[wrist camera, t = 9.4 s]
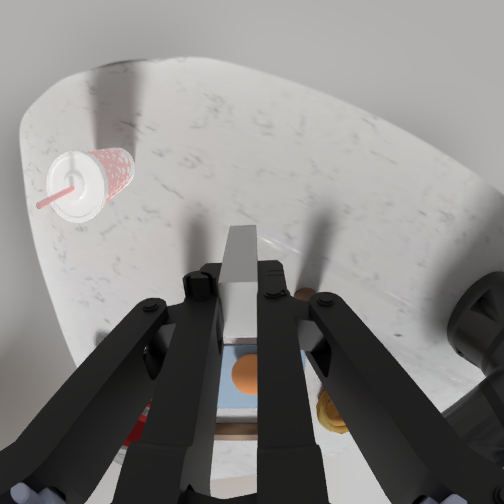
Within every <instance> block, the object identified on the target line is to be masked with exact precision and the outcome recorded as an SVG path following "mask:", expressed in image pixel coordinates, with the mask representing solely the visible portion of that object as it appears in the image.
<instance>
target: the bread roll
mask: <svg viewBox="0 0 504 504" xmlns="http://www.w3.org/2000/svg"><path fill="white" fill-rule="evenodd" d="M316 409H317V417H318V421H319V423H320V424H321V425H322V426H323V427H324V428H326V429H327V430H329V431H331V432H336V433H340V434H343V433H346V432H348V431H349V430H348V428H347V427H346V425H345V423H344V421H343V419H342V418H341V416H340V414H339V412H338V411H337V409H336V407H335V405H334V404H333V402H332V400H331V398H330V397H329V395H328V393H327V391H326V390H325V391H324V392H323V393H322V394H321V395H320V397H319V401H318V403H317V405H316Z"/></svg>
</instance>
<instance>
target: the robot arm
mask: <svg viewBox="0 0 504 504" xmlns="http://www.w3.org/2000/svg"><path fill="white" fill-rule="evenodd" d="M183 285H184V291H185V296H186V297H185V299H184V302H183V303H180V304H177V305H172V306H167V305H166V302H165V301H164V300H163V299H160V298H148V299H145V300H143V301H141V302H139V303H138V304H137V305H136V306H135V307H134V308H133V309H132V310H131V311H130V312H129V313H128V314H127V315H126V316H125V317H124V318H123V320H122V321H121V322H120V323H119V324H118V325H117V326H116V327H115V328H114V329H113V330H112V331H111V332H110V333H109V334H108V336H107V337H106V338H105V339H104V340H103V341H102V342H101V343H100V344H99V345H98V346H97V347H96V348H95V350H94V351H93V352H92V353H91V354H90V355H89V356H88V357H87V358H86V359H85V361H84V362H83V363H82V364H81V365H80V366H79V367H78V368H77V370H76V371H75V372H74V373H73V374H72V375H71V376H70V377H69V378H68V380H67V381H66V382H65V383H64V384H63V385H62V386H61V388H60V389H59V390H58V391H57V392H56V393H55V394H54V396H53V397H52V398H51V399H50V400H49V401H48V403H47V404H46V405H45V406H44V407H43V408H42V410H41V411H40V412H39V413H38V414H37V416H36V417H35V418H34V419H33V420H32V422H31V423H30V424H29V425H28V426H27V428H26V429H25V430H24V431H23V432H22V434H21V435H20V436H19V437H18V439H17V440H16V441H15V442H14V443H12V444H11V445H9V446H8V447H6V448H5V449H3V450H1V451H0V504H84V503H85V502H86V501H87V500H88V498H89V497H90V496H91V494H92V493H93V491H94V490H95V488H96V487H97V485H98V483H99V482H100V480H101V479H102V477H103V475H104V474H105V472H106V471H107V469H108V467H109V466H110V464H111V463H112V461H113V459H114V458H115V456H116V455H117V453H118V451H119V450H120V448H121V447H122V445H123V443H124V442H125V440H126V439H127V437H128V435H129V434H130V432H131V431H132V429H133V427H134V426H135V424H136V423H137V421H138V420H139V418H140V416H141V415H142V413H143V412H144V410H145V408H146V407H147V405H148V404H149V402H150V400H151V399H152V401H151V405H150V408H149V412H148V415H147V418H146V422H145V425H144V429H143V432H142V436H141V438H140V439H139V440H138V441H132V442H131V443H130V444H129V446H128V448H127V451H126V454H125V458H124V461H123V464H122V468H121V472H120V475H119V479H118V482H117V486H116V490H115V493H114V498H113V501H112V503H111V504H331V503H329V501H328V493H327V486H326V479H325V472H324V466H323V459H322V453H321V449H320V447H319V445H317V444H316V442H315V437H314V430H313V424H312V417H311V411H310V405H309V399H308V392H307V386H306V380H305V374H304V368H303V362H302V357H301V351H300V350H304V351H305V353H306V356H307V358H308V360H309V362H310V363H311V365H312V367H313V369H314V370H315V372H316V374H317V376H318V377H319V379H320V381H321V383H322V384H323V386H324V388H325V390H326V391H327V393H328V395H329V397H330V398H331V400H332V402H333V404H334V405H335V407H336V409H337V411H338V412H339V414H340V416H341V418H342V419H343V421H344V423H345V425H346V427H347V428H348V430H349V432H350V434H351V435H352V437H353V439H354V440H355V442H356V444H357V446H358V447H359V449H360V451H361V453H362V454H363V456H364V458H365V460H366V461H367V463H368V465H369V467H370V468H371V470H372V472H373V474H374V475H375V477H376V479H377V481H378V482H379V484H380V486H381V488H382V489H383V491H384V493H385V495H386V496H387V497H388V499H389V500H390V502H391V503H392V504H504V272H494V273H491V274H488V275H486V276H485V277H483V278H481V279H480V280H479V281H477V282H476V283H475V284H474V285H473V286H472V287H471V288H470V289H469V290H468V291H467V292H466V293H465V294H464V296H463V297H462V298H461V300H460V301H459V303H458V304H457V306H456V308H455V309H454V311H453V313H452V316H451V318H450V321H449V324H448V330H447V337H448V341H449V343H450V345H451V346H452V348H453V349H454V351H455V352H456V353H457V354H458V355H459V356H461V357H463V358H464V359H466V360H467V361H469V362H470V363H472V364H473V365H475V366H477V367H478V368H480V369H481V370H482V372H483V373H484V375H485V376H486V378H485V379H484V380H483V381H482V382H480V383H479V384H478V385H479V386H478V385H477V386H476V387H475V388H473V389H472V390H471V391H470V392H468V393H467V394H466V395H465V396H463V397H462V398H461V399H459V400H458V401H457V402H456V403H454V404H453V405H452V406H450V407H449V408H447V409H446V410H445V411H443V412H442V413H440V412H439V411H438V409H437V408H436V407H435V406H434V405H433V403H432V402H431V401H430V400H429V398H428V397H427V396H426V395H425V394H424V392H423V391H422V390H421V389H420V388H419V386H418V385H417V384H416V383H415V382H414V381H413V379H412V378H411V377H410V376H409V375H408V373H407V372H406V371H405V370H404V369H403V368H402V366H401V365H400V364H399V363H398V362H397V361H396V359H395V358H394V357H393V356H392V355H391V354H390V352H389V351H388V350H387V349H386V348H385V347H384V345H383V344H382V343H381V342H380V341H379V340H378V339H377V337H376V336H375V335H374V334H373V333H372V332H371V331H370V329H369V328H368V327H367V326H366V325H365V324H364V323H363V322H362V320H361V319H360V318H359V317H358V316H357V315H356V314H355V313H354V311H353V310H352V309H351V308H350V307H349V306H348V305H347V304H346V302H345V301H344V300H343V299H342V298H341V297H340V296H338V295H336V294H334V293H331V292H319V293H316V294H313V295H312V296H311V297H310V299H309V301H304V300H299V299H296V298H294V297H292V296H291V295H290V292H289V291H288V290H287V286H286V281H285V275H284V270H283V265H282V264H281V263H280V262H279V261H278V260H267V261H258V258H257V233H256V225H244V226H230V229H229V233H228V238H227V243H226V247H225V252H224V257H223V262H222V263H206V264H205V265H204V266H203V267H201V269H200V271H194V272H191V273H188V274H187V275H185V276H184V277H183ZM223 331H224V338H253V337H257V415H258V448H257V493H254V494H249V495H244V496H239V497H234V498H229V499H218V498H215V497H211V494H210V474H211V464H212V453H213V443H214V433H215V423H216V414H217V404H218V395H219V386H220V376H221V367H222V358H223V350H224V343H223ZM145 347H146V349H145ZM144 349H145V350H144ZM152 397H153V398H152Z"/></svg>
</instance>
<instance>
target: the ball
mask: <svg viewBox="0 0 504 504" xmlns="http://www.w3.org/2000/svg"><path fill="white" fill-rule="evenodd" d="M231 376H232V381H233V383H234V385H235V386H236V388H237V389H238V390H240V391H241V392H243V393H245V394H250V395H256V394H257V354H248V355H244V356H242V357H241V358H239V359H238V360H237V361H236V362H235V364H234V366H233V368H232V372H231Z"/></svg>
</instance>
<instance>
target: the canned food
mask: <svg viewBox="0 0 504 504" xmlns="http://www.w3.org/2000/svg"><path fill="white" fill-rule="evenodd" d="M150 405H151V401H150V402H149V404H148V405H147V407H146V408H145V410H144V412H143V413H142V415H141V416H140V418H139V420H138V421H137V423H136V424H135V426H134V427H133V429H132V431H131V432H130V434H129V435H128V437H127V439H126V440H125V442H124V443H123V445H122V447H121V448H120V450H119V451H118V453H117V455H116V456H115V458H114V459H113V461H115V462H116V463H119V464H120V465H122V464H123V461H124V458H125V454H126V451H127V448H128V446H129V444H130V443H131V442H132V441H138V440H139V439H140V438H141V436H142V432H143V429H144V425H145V422H146V418H147V415H148V412H149V408H150Z"/></svg>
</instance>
